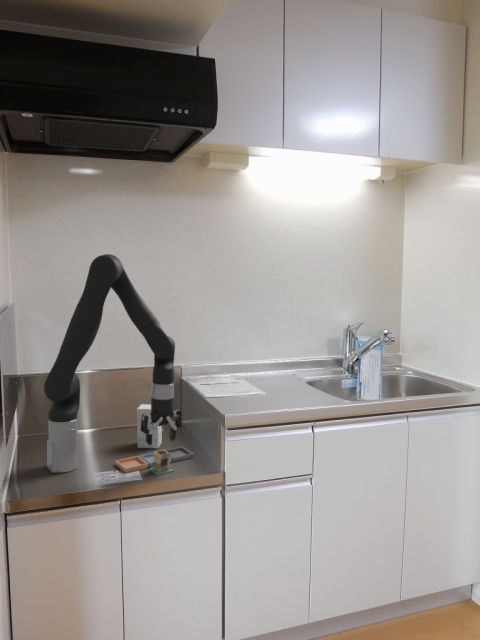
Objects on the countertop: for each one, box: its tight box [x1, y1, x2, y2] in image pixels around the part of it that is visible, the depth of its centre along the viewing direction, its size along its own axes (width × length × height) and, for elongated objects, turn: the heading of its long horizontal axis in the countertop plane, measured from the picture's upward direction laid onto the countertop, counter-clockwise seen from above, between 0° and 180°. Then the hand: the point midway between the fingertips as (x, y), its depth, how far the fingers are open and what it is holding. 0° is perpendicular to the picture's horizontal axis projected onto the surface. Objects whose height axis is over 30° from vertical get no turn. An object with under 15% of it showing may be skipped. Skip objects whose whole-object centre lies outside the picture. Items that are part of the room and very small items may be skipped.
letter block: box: [153, 449, 170, 473], centre depth 177 cm, size 4×4×6 cm
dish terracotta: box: [114, 455, 149, 474], centre depth 180 cm, size 8×8×2 cm
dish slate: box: [138, 452, 173, 468], centre depth 185 cm, size 8×8×2 cm
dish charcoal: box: [165, 446, 195, 463], centre depth 191 cm, size 8×8×2 cm
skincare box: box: [136, 403, 163, 449], centre depth 200 cm, size 8×7×16 cm
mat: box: [148, 467, 174, 476], centre depth 177 cm, size 6×6×1 cm
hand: (160, 442), depth 177 cm, fingers open, 8 cm apart
